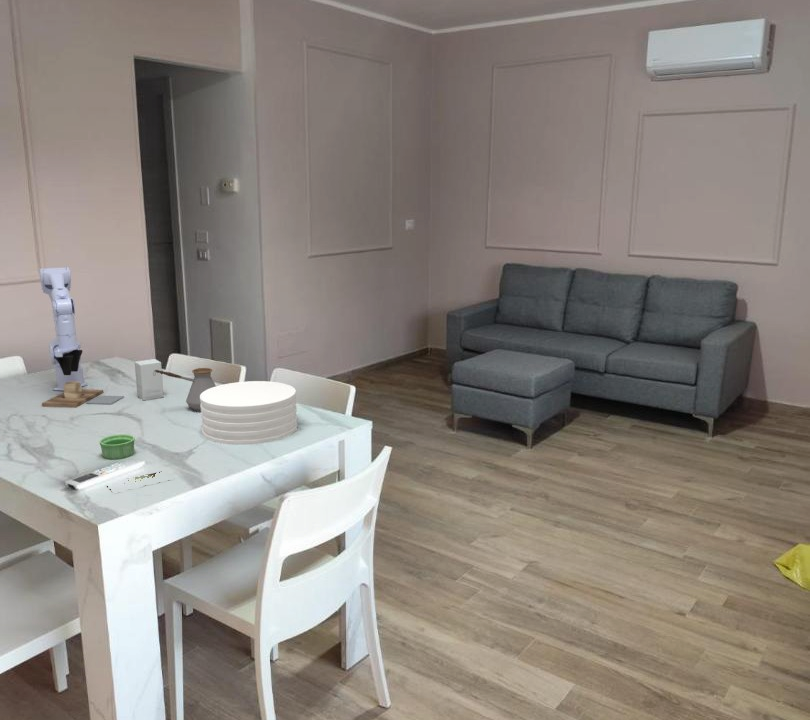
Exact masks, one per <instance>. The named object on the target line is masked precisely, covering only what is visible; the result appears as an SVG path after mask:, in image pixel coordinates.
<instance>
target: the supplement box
mask: <svg viewBox="0 0 810 720" xmlns="http://www.w3.org/2000/svg"><path fill="white" fill-rule="evenodd" d="M155 370H159V371H163V369H162V362H161V361H159V360H158V359H156V358H151V359H145V360H136V361H134V371H135V383H136V395H137V397H138V398H139V399H141V400H142V401H151V400H156V399H162V398H164V397H165V394H164V393H165V391H164V383H163V382H164V381H163V374H161V373H157V372H154V371H155ZM153 372H154V375H155V373H156V375H155V376H153Z"/></svg>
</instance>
